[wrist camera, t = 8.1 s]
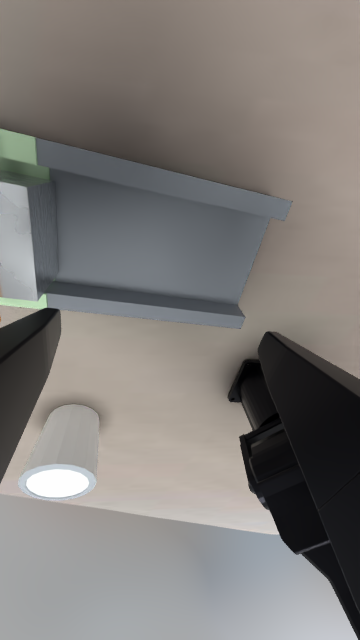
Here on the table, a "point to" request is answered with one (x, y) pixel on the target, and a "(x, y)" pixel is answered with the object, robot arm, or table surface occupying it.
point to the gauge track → (143, 235)
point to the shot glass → (63, 455)
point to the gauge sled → (27, 236)
